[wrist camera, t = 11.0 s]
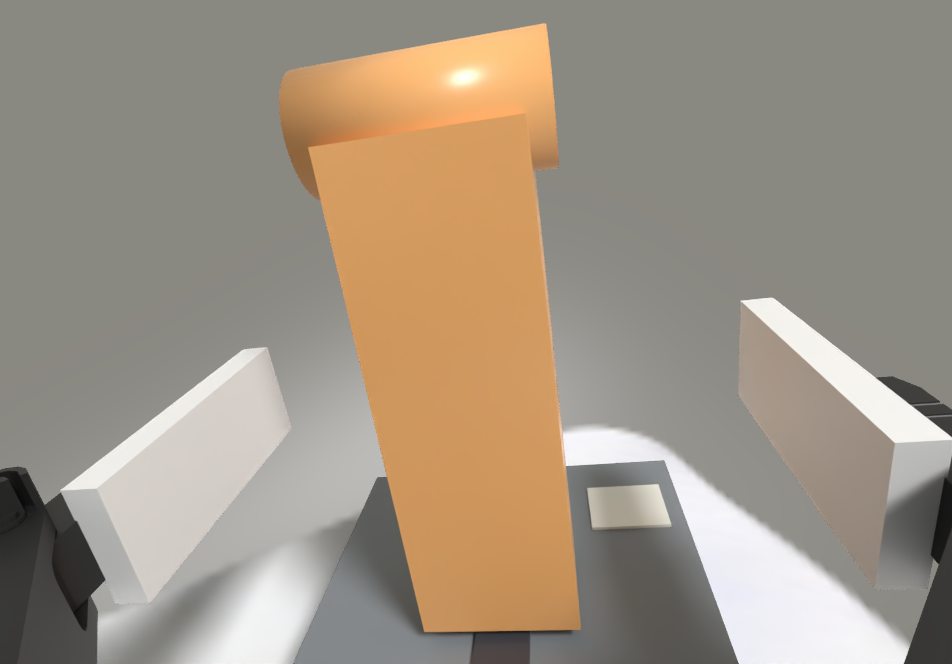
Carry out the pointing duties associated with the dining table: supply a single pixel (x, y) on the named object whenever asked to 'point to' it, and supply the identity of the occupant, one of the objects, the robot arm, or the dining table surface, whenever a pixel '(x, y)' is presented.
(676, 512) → the base
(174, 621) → the dining table surface
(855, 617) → the dining table surface
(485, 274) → the handle
